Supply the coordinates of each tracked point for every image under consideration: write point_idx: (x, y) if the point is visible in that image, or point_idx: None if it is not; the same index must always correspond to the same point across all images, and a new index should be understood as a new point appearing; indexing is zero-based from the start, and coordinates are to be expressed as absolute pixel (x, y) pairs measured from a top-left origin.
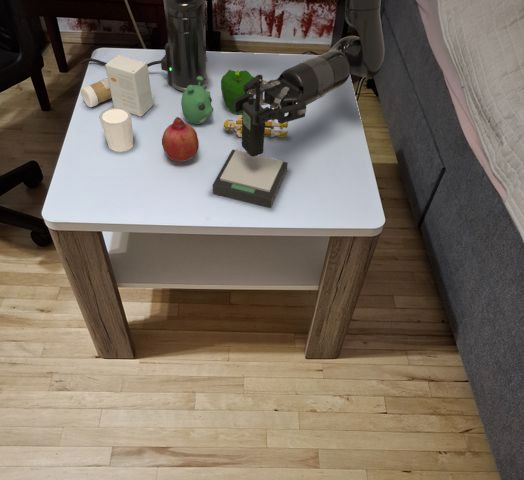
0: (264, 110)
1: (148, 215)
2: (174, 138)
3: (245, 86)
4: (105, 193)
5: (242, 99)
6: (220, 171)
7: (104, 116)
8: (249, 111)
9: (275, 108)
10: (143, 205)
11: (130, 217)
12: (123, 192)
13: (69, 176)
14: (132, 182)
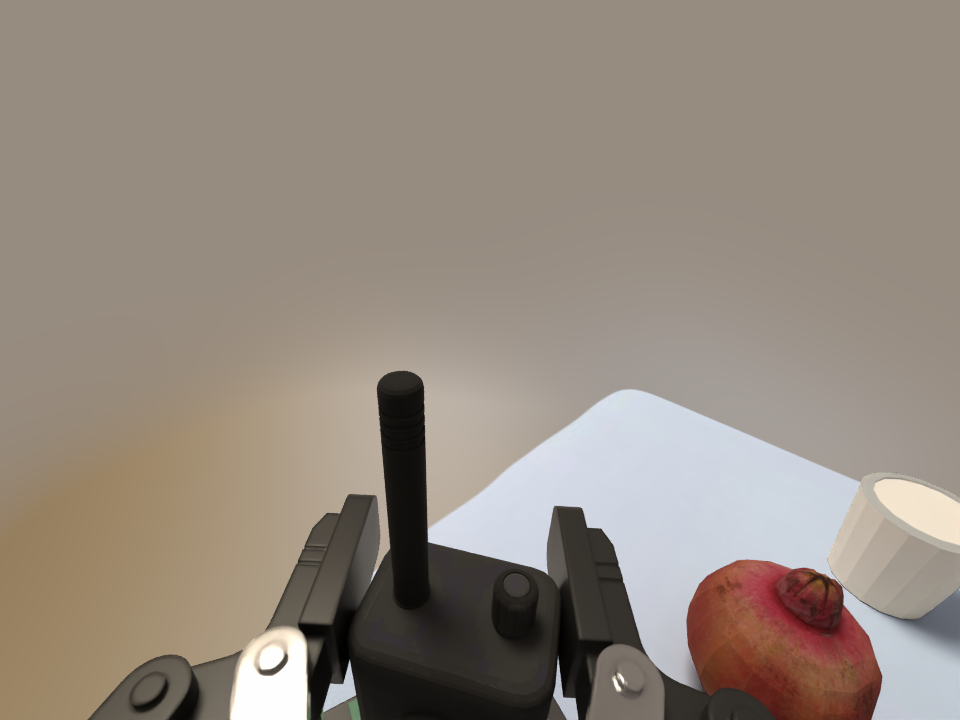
0: (325, 566)
1: (536, 471)
2: (736, 566)
3: (739, 705)
4: (651, 456)
5: (563, 555)
6: (553, 701)
7: (924, 489)
8: (448, 548)
9: (239, 665)
10: (573, 481)
11: (553, 449)
12: (639, 478)
13: (736, 441)
14: (669, 508)
